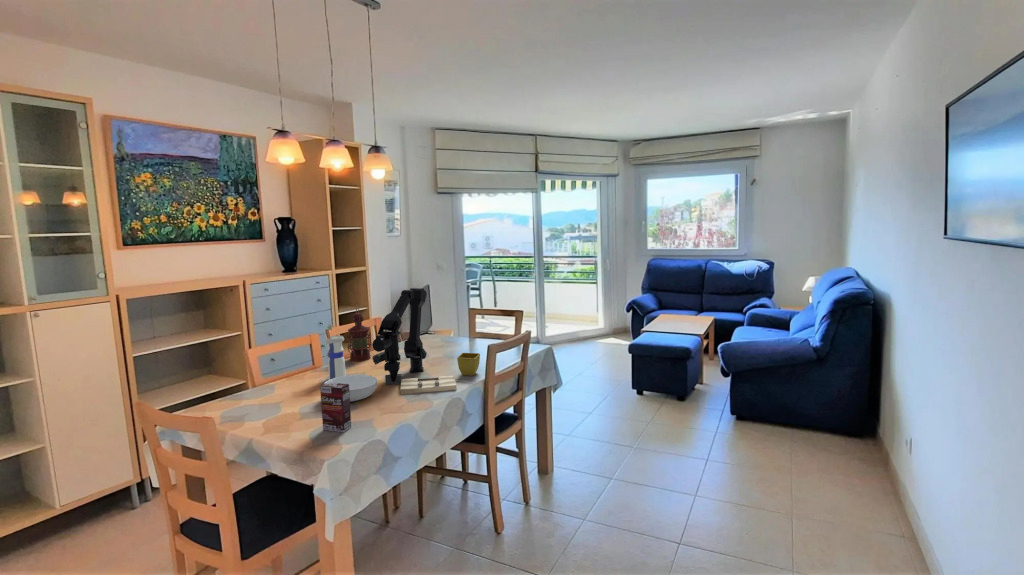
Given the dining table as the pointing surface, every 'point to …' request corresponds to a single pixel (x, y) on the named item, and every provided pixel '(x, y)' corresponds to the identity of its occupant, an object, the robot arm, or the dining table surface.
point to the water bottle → (335, 356)
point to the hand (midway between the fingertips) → (393, 380)
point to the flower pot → (468, 363)
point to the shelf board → (428, 384)
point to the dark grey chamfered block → (389, 380)
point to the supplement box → (335, 407)
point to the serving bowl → (357, 385)
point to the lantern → (359, 339)
